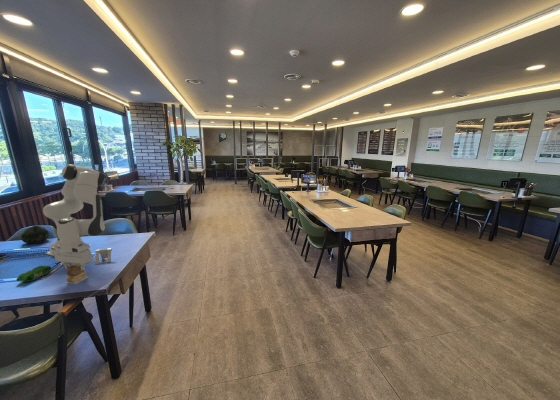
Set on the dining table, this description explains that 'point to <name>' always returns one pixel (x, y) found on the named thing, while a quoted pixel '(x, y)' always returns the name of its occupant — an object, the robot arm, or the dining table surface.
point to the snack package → (34, 273)
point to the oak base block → (76, 277)
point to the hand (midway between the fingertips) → (75, 268)
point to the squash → (35, 234)
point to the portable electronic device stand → (103, 255)
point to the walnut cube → (74, 269)
